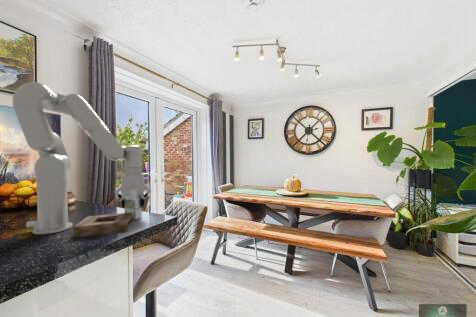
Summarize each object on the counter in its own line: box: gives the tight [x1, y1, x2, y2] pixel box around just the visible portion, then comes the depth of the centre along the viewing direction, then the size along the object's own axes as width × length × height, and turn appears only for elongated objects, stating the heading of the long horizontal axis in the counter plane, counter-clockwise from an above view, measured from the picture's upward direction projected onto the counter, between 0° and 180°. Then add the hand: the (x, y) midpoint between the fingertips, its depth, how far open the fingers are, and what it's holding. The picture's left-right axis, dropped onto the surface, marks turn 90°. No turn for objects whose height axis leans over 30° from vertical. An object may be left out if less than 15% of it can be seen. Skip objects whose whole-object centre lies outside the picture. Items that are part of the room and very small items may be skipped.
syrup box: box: [124, 189, 143, 220], centre depth 103 cm, size 6×6×14 cm
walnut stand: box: [72, 212, 134, 238], centre depth 89 cm, size 18×15×4 cm
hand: (133, 207), depth 103 cm, fingers closed on syrup box, 7 cm apart
